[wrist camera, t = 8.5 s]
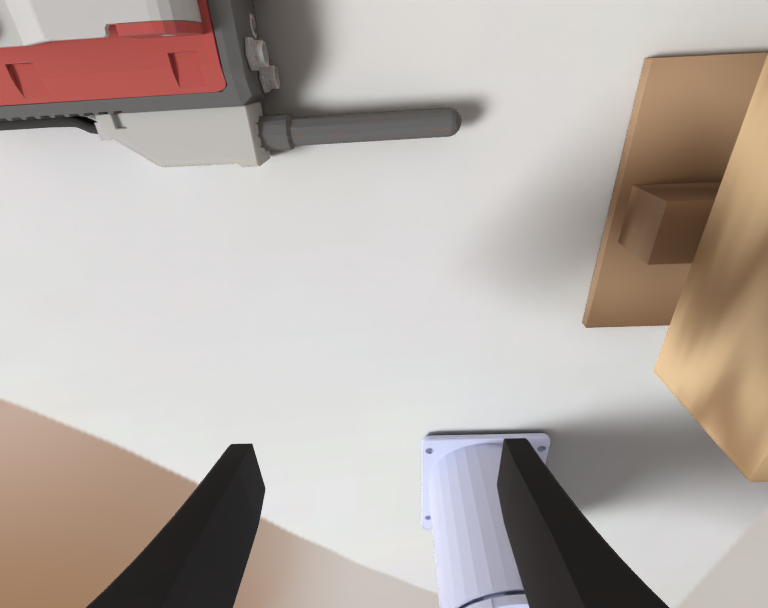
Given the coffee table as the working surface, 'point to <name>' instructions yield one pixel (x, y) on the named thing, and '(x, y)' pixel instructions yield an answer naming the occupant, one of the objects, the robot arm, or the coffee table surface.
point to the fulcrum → (668, 183)
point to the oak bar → (729, 307)
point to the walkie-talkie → (168, 82)
